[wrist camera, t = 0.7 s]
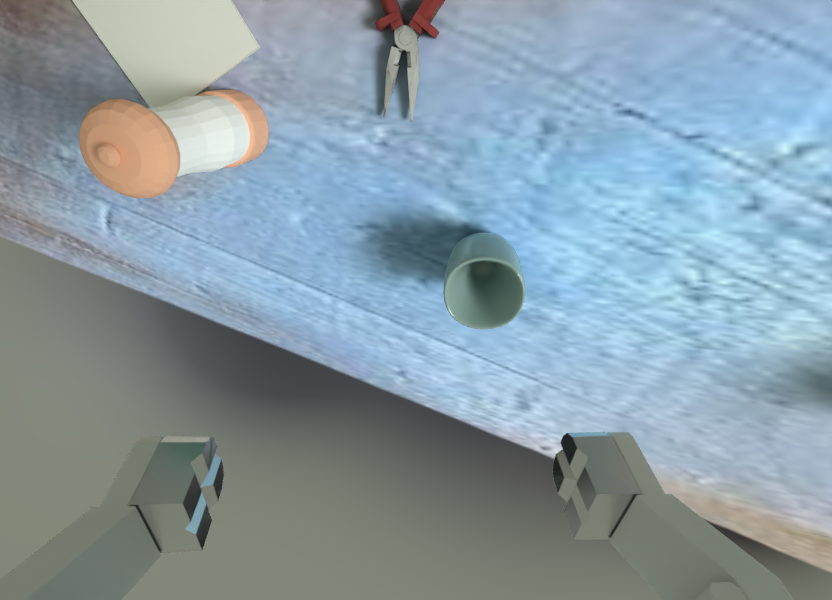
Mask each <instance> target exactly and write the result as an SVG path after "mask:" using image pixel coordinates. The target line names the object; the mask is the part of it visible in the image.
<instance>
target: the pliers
mask: <svg viewBox="0 0 832 600" xmlns="http://www.w3.org/2000/svg"><path fill="white" fill-rule="evenodd" d="M380 1H381V4H382V7H383V9H384V12H385V15H386V16H385V17H383V18H381V19H379V20H377V21H376V22H375V24H376V27H377V30H378V31H380V32H381V31H383V30H385V29H387V28H389V27H391V29H392V31H393V32H394V35H395V41H394V45H393V46H392V47H391V51H390V55H389V59H388V63H387V68H386V78H385V97H384V116H383V117H385V115H386V112H387V109H388V105H389V102H390V98H391V95H392V92H393V88H394V85H395V81H396V78H397V74H398V71H399V67H400V66H399V65H398V63H399V60H400V56H401V53H402V51H406V52H407V63H408V67H407V73H408V88H409V102H410V115H411V122H412V121H413V115H414V108H415V102H416V95H417V89H418V82H419V51H418V47H417V42H418V38H419V35H420V34H421V35H422V34H423V32H424V31H425V30H426V31H427V32H428V33H429V34H430V35H431V36H433V37H434V38H436V37H437V35H438V34H439V31H438V30H437V29H435V28H434V27H433V26H432V25H431V24H430V23H431V21H432V19H433V18H434V16H435V15H436V13H437V12H438V10H439V9H440V7H441V6H442V4H443V2H444V1H445V0H424V1H423V2H422V4H421V5H420V7H419V9H418V10H417V12H416V13H415V15H414V16H413V18H412V20H411V21H410V23H409V25H410V26H411V27H410V26H408V25H406V24H405V21H404V19H403V16H402V13H401V10H400V7H399V4H398V1H397V0H380Z"/></svg>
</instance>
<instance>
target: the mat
mask: <svg viewBox="0 0 832 600" xmlns="http://www.w3.org/2000/svg"><path fill="white" fill-rule="evenodd" d="M72 1H73V2H74V4H75V5H76V6H77V8H78V9H79V10H80V12H81V13H82V15H83V16H84V17H85V19H86V20H87V22H88V23H89V24H90V26H91V27H92V28H93V30H94V31H95V33H96V34H97V35H98V37H99V38H100V39H101V41H102V42H103V44H104V45H105V46H106V48H107V49H108V51H109V52H110V53H111V55H112V56H113V57H114V59H115V60H116V62H117V63H118V64H119V66H120V67H121V68H122V70H123V71H124V73H125V74H126V75H127V77H128V78H129V80H130V81H131V82H132V84H133V85H134V86H135V88H136V89H137V91H138V92H139V93H140V95H141V96H142V97H143V99H144V100H145V102H146V103H147V104H148V106H149V107H150V108H152V107H160V106H164V105H166V104H169V103H171V102H173V101H176V100H178V99H180V98H183V97H185V96H196V95H198V94H199V93H200V92H202V91H203V90H204V89H206V88H207V87H208V86H210V85H211V84H212V83H214V82H215V81H216V80H218V79H219V78H220V77H222V76H223V75H224V74H226V73H227V72H228V71H230V70H231V69H232V68H234V67H235V66H237V65H238V64H239V63H241V62H242V61H243V60H245V59H246V58H247V57H249V56H250V55H251V54H253V53H254V52H255V51H257V50H258V49H259V48H260V46H259V44H258V43H257V41H256V39H255V38H254V36H253V34H252V33H251V31H250V29H249V28H248V26H247V25H246V23H245V21H244V20H243V18H242V16H241V15H240V13H239V11H238V10H237V8H236V6H235V5H234V3H233V1H232V0H72Z"/></svg>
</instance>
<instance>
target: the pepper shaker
mask: <svg viewBox="0 0 832 600" xmlns="http://www.w3.org/2000/svg"><path fill="white" fill-rule="evenodd" d="M268 134H269V130H268V124H267V119H266V117H265V115H264V113H263V111H262V109H261V108H260V107H259V105H258V104H257V103H256V102H255V101H254V99H252V98H251V97H249V96H248V95H246V94H245V93H243V92H240V91H236V90H233V89H232V90H216V91H205V92H203V93H201V94H199V95H197V96H185V97H183V98H180V99H178V100H176V101H173V102H171V103H169V104H166V105H164V106H160V107H152V108H146V107H144V106H143V105H140V104H138V103H135V102H131V101H128V100H125V99H109V100H106V101H104V102H102V103H101V104H99V105H97V106H95V107H93V108H91V109H90V111H89V112H88V113H87V115H86V116H85V117H84V119H83V122H82V125H81V129H80V133H79V143H80V150H81V152H82V155H83V158H84V161H85V163H86V164H87V166H88V167H89V169H90V170H91V172H92V173H93V174H94V175H95V176H96V177H97V178H98V179H99V180H100V181H101V182H102V183H103V184H104V185H106V186H108V187H109V188H111V189H113V190H114V191H116V192H118V193H120V194H123V195H126V196H129V197H133V198H153V197H156V196H158V195H160V194H163V193H165V192H166V191H167V190H168V188H169V187H170V186H171V185H172V184H173V183H174V182H175V180H176V177H179V176H182V175H185V174H188V173H195V172H209V171H216V170H218V169H221V168H224V167H236V166H238V165H241V164H243V163H246V162H248V161H251V160H253V159H256V158H257V157H258V156H259V155H260V154H261V153H262V152H263V151H264V149H265V147H266V145H267V143H268Z"/></svg>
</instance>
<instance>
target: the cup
mask: <svg viewBox="0 0 832 600" xmlns="http://www.w3.org/2000/svg"><path fill="white" fill-rule="evenodd" d="M443 294H444V301H445V304H446V307H447V310H448V311H449V313H450V315H451V316H452V317H453V318H454V319H455V320H456V321H458V322H459V323H461V324H462V325H465V326H467V327H471V328H475V329H493V328H497V327H501V326H503V325H506V324H508V323H509V322H511V321H512V320H513V319H514V318H515V317H516V316H517V315H518V314H519V312H520V310H521V309H522V306H523V303H524V299H525V281H524V277H523V273H522V269H521V265H520V261H519V258H518V256H517V254H516V252H515V250H514V248H513V247H512V245H511V244H510V243H509V242H508V241H507V240H506V239H504V238H503V237H501V236H499V235H497V234H493V233H484V232H482V233H475V234H471V235H468V236H466V237H464V238H463V239H462V240H460V241H459V242H458V243H457V244H456V246H455V247H454V248H453V250H452V252H451V254H450V257H449V259H448V263H447V267H446V272H445V278H444V290H443Z"/></svg>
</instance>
